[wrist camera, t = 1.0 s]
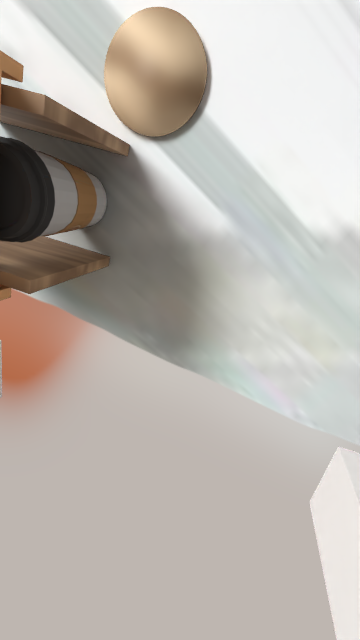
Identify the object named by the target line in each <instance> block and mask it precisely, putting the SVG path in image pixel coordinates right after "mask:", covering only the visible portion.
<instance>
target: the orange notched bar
mask: <svg viewBox="0 0 360 640" xmlns="http://www.w3.org/2000/svg"><path fill="white" fill-rule="evenodd" d="M1 77H3V78H7V79H11V80H15V81H19V82H23V65H21V64H20V63H18V62H17V61H15V60H14V59H12V58H11V57H9V56H8V55H6V54H5V53H3V52H2V51H0V105H1ZM10 297H11V288H10V287H7V286H4V285H1V284H0V301H1V300H4V299H7V298H10Z"/></svg>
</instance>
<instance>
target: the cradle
mask: <svg viewBox="0 0 360 640" xmlns="http://www.w3.org/2000/svg"><path fill="white" fill-rule="evenodd" d="M0 122H3V123H7V124H11V125H14V126H18V127H22V128H25V129H29V130H33V131H36V132H40V133H44V134H47V135H51V136H55V137H58V138H62V139H66V140H69V141H73V142H77V143H80V144H84V145H88V146H92V147H95V148H99V149H103V150H106V151H110V152H114V153H117V154H121V155H125V156H128V152H129V146H130V145H129V144H127V143H126V142H124V141H122V140H121V139H119V138H117V137H115V136H114V135H112V134H110V133H109V132H107V131H105V130H104V129H102V128H100V127H98V126H97V125H95V124H93V123H92V122H90V121H88V120H87V119H85V118H83V117H81V116H80V115H78V114H76V113H75V112H73V111H71V110H70V109H68V108H66V107H64V106H63V105H61V104H59V103H58V102H56V101H54V100H53V99H51V98H49V97H47V96H46V95H43V94H39V93H35V92H31V91H27V90H23V89H19V88H15V87H11V86H8V85H4V84H1V105H0ZM109 261H110V257H109V256H105V255H102V254H99V253H96V252H93V251H89V250H86V249H83V248H80V247H77V246H73V245H70V244H67V243H64V242H61V241H57V240H54V239H51V238H48V237H45V236H39V237H37V238H35V239H34V240H32V241H27V242H22V243H21V242H7V241H1V240H0V284H1V285H4V286H7V287H10V288H13V289H16V290H19V291H22V292H25V293H28V294H31V293H34V292H37V291H39V290H42V289H45V288H48V287H51V286H53V285H56V284H59V283H62V282H65V281H68V280H70V279H73V278H76V277H79V276H82V275H84V274H87V273H90V272H93V271H96V270H98V269H101V268H104V267H107V266H109Z"/></svg>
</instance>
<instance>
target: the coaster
mask: <svg viewBox="0 0 360 640" xmlns="http://www.w3.org/2000/svg"><path fill="white" fill-rule="evenodd" d="M206 78H207V62H206V55H205V52H204V48H203V44H202V42H201V39H200V37H199V35H198V33H197V31H196V29H195V28H194V27H193V25H192V24H191V23H190V22H189V21H188V20H187V19H186V18H185V17H184V16H183V15H181V14H180V13H178V12H176V11H174V10H172V9H169V8H164V7H151V8H146V9H143V10H141V11H139V12H137V13H135V14H133V15H132V16H131V17H129V18H128V19H127V20H126V21H125V22H124V23H123V24H122V25H121V26H120V28H119V29H118V30H117V32H116V33H115V35H114V37H113V39H112V41H111V43H110V46H109V48H108V52H107V55H106V61H105V69H104V80H105V88H106V93H107V96H108V99H109V102H110V104H111V107H112V109H113V110H114V112H115V114H116V115H117V116H118V118H119V119H120V120H121V121H122V122H123V123H124V124H125V125H126V126H127V127H129V128H130V129H132V130H133V131H135V132H137V133H139V134H142V135H145V136H152V137H157V136H164V135H167V134H170V133H172V132H174V131H176V130H178V129H179V128H181V127H182V126H183V125H184V124H185V123H186V122H187V121H188V120H189V119H190V118H191V117H192V115H193V114H194V113H195V111H196V110H197V108H198V106H199V104H200V102H201V99H202V97H203V93H204V90H205V85H206Z"/></svg>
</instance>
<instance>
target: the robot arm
mask: <svg viewBox="0 0 360 640" xmlns="http://www.w3.org/2000/svg"><path fill="white" fill-rule="evenodd" d="M1 369H2V358H1V340H0V398H1V397H2V370H1ZM310 507H311V513H312V518H313V523H314V528H315V533H316V537H317V543H318V548H319V553H320V558H321V563H322V568H323V573H324V578H325V583H326V588H327V593H328V598H329V603H330V608H331V613H332V619H333V624H334V629H335V634H336V639H337V640H360V453H358V452H354V451H351V450H348V449H345V448H342V447H338V448H337V450H336V452H335V454H334V456H333V458H332V460H331V462H330V464H329V466H328V467H327V470H326V471H325V473H324V475H323V477H322V479H321V481H320V483H319V485H318V487H317V489H316V490H315V492H314V495H313V496H312V499H311V500H310Z"/></svg>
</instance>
